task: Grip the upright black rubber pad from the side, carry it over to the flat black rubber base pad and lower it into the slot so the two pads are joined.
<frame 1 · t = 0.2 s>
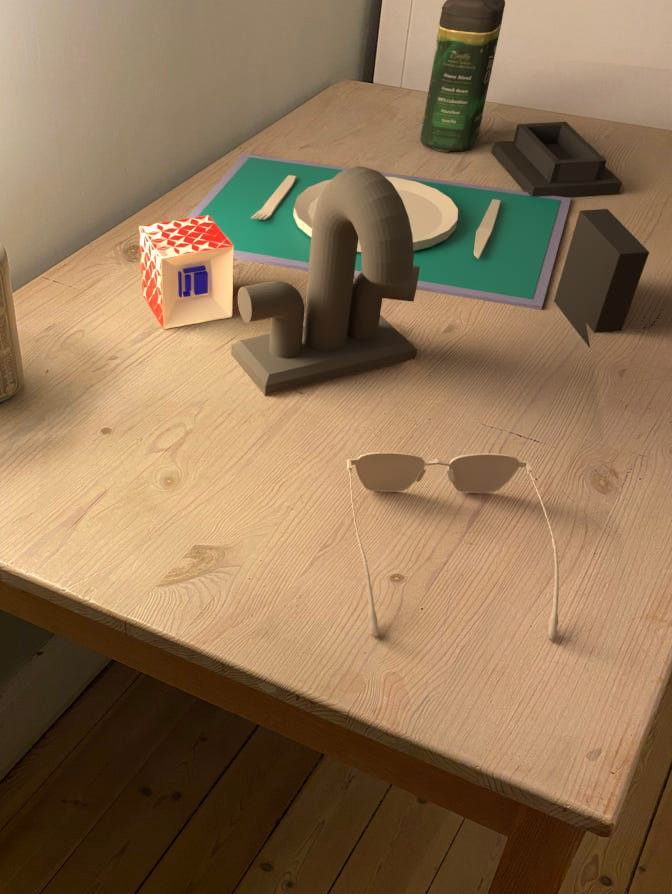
faucet: (338, 376, 95), on the table
eyeglasses: (444, 561, 77), on the table
place mat: (373, 227, 119), on the table, touching base pad
base pad: (552, 172, 129), on the table
upright pad: (584, 322, 102), on the table
patterned open box: (186, 308, 105), on the table
coffee jar: (449, 143, 137), on the table
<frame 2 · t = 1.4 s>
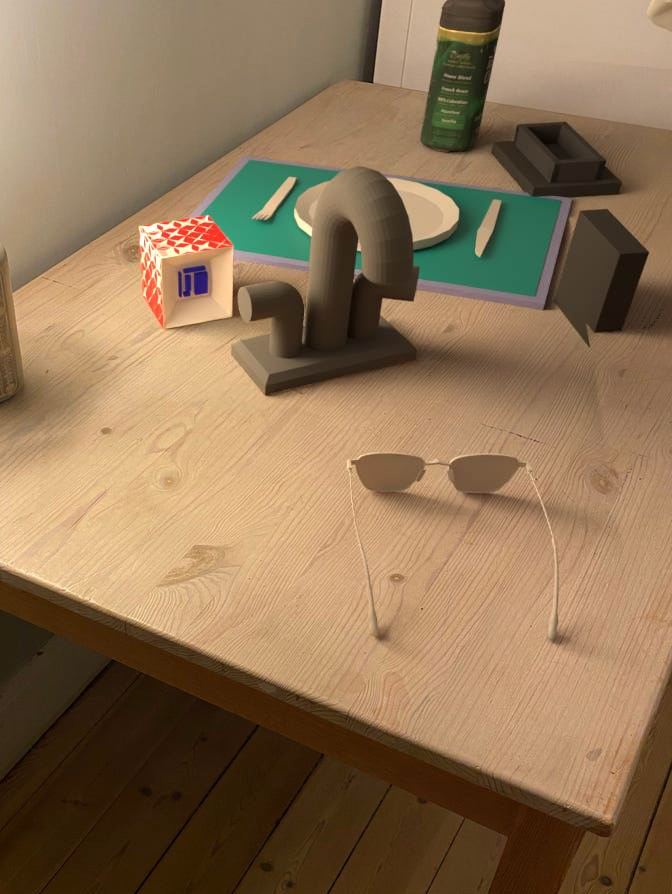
nothing on the table moved.
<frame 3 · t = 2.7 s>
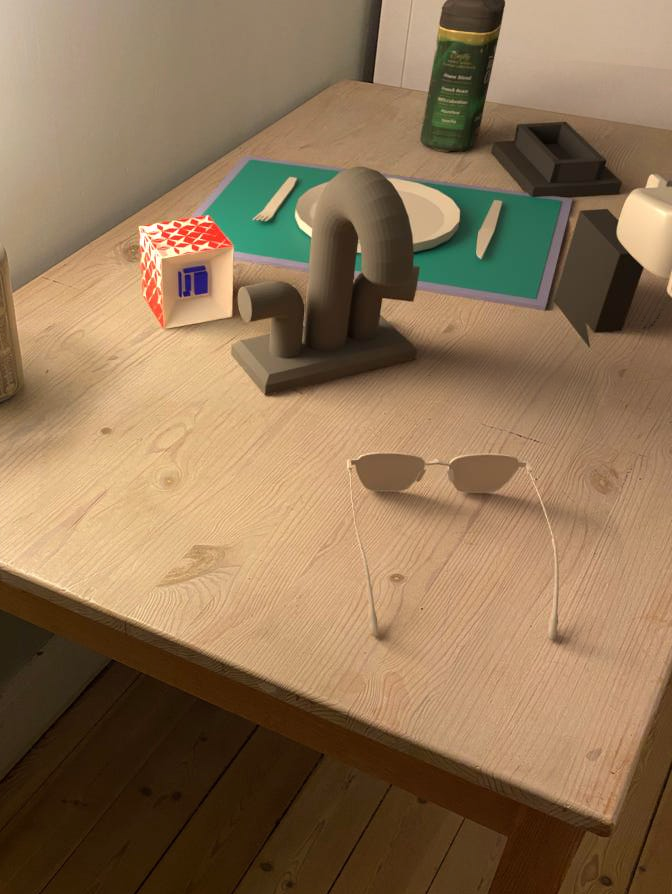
place mat: (374, 229, 119), on the table
everything else where it was.
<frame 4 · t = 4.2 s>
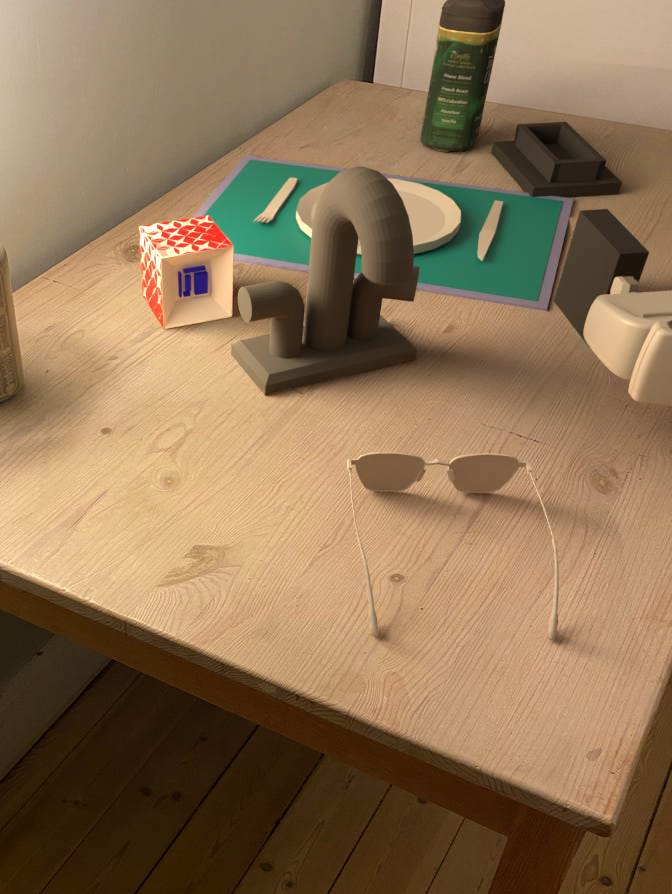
hand: (669, 280, 86), 11 cm above the table, tool horizontal, fingers open, 8 cm apart
place mat: (375, 230, 119), on the table, touching base pad
everything else where it was.
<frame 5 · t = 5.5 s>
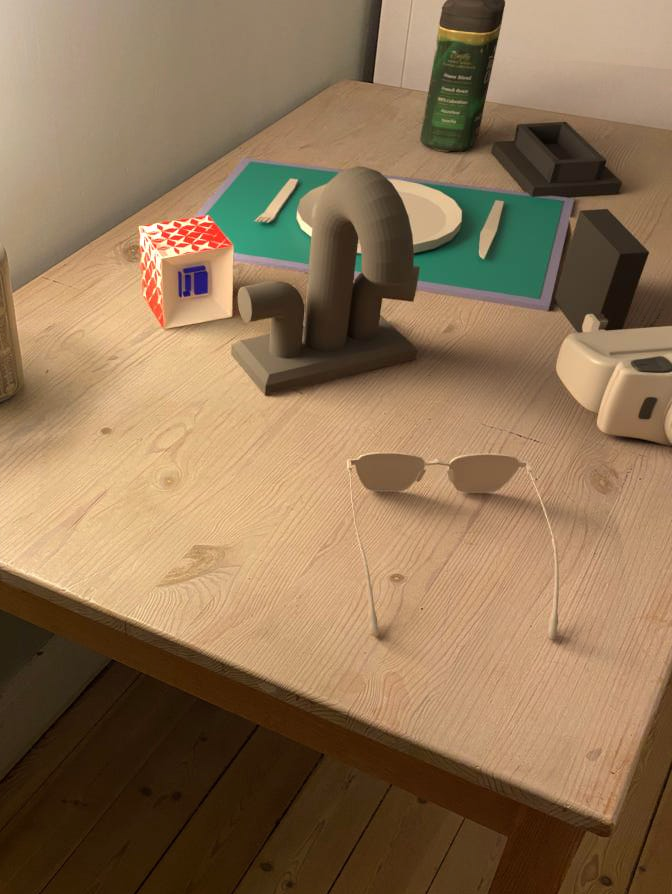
hand: (637, 317, 92), 5 cm above the table, tool horizontal, fingers open, 8 cm apart
nothing on the table moved.
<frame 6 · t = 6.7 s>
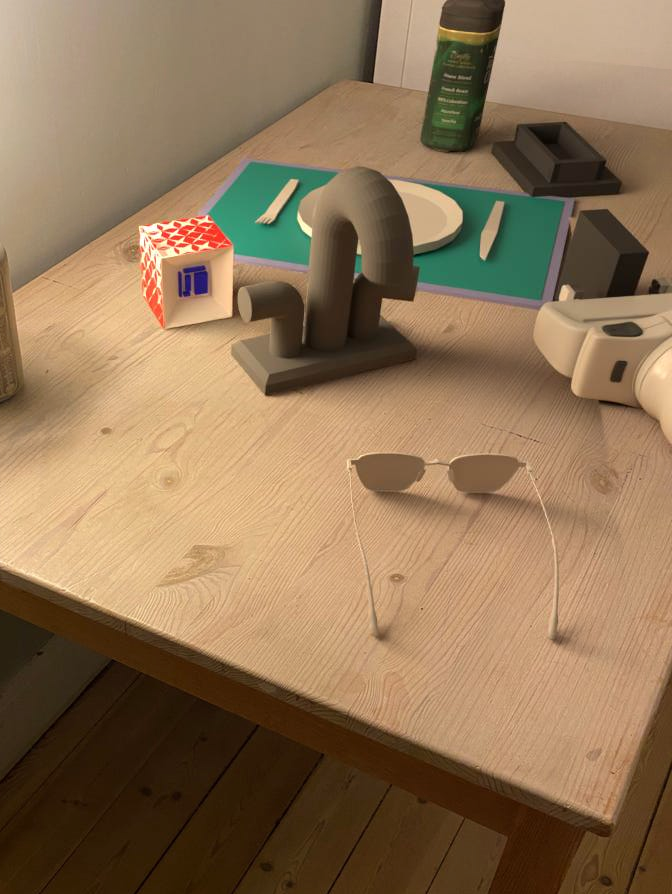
hand: (612, 288, 96), 5 cm above the table, tool horizontal, fingers open, 8 cm apart
place mat: (377, 230, 119), on the table
everything else where it was.
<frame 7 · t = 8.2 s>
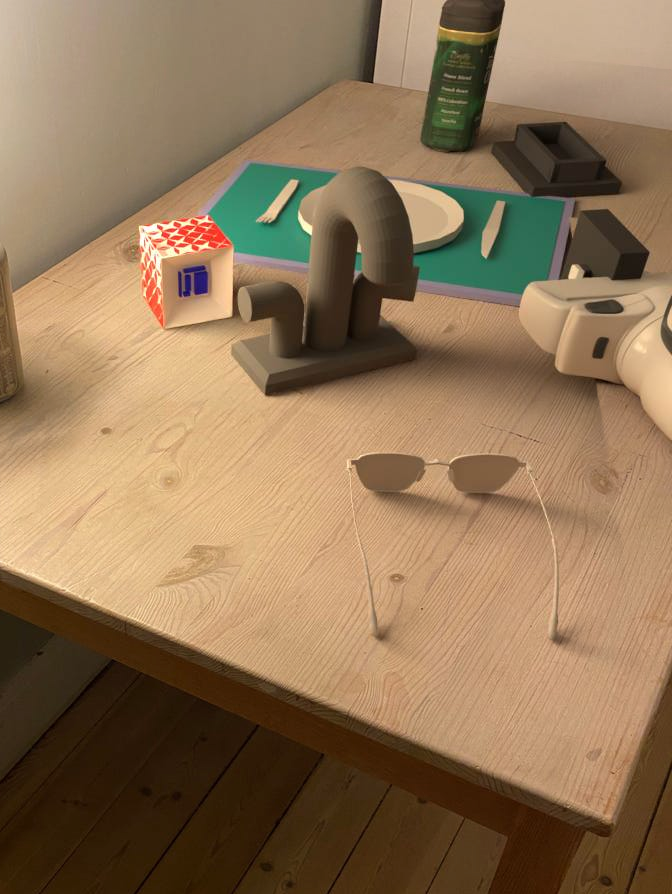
hand: (596, 269, 98), 6 cm above the table, tool horizontal, fingers closed on upright pad, 3 cm apart
place mat: (378, 230, 119), on the table, touching base pad
upright pad: (584, 322, 102), on the table, touching gripper
everything else where it was.
when the fingers open (7 cm above the table, at t = 18.8 s): upright pad stays where it is, resting on base pad.
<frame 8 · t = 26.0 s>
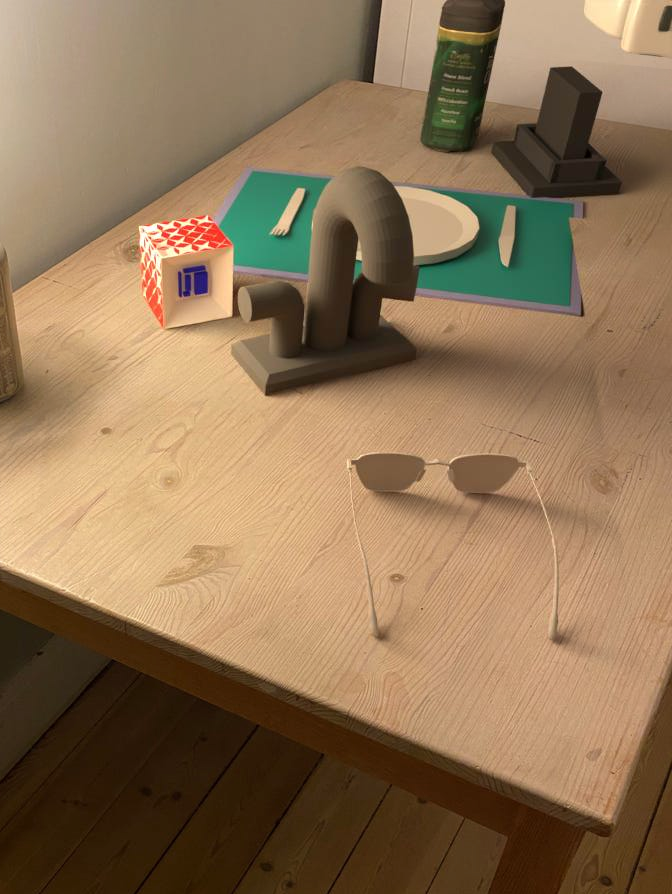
place mat: (391, 239, 117), on the table
upright pad: (554, 161, 128), point 1 cm above the table, touching base pad
everything else where it was.
at the end: upright pad 0.1 cm off-centre on the base pad, point 1.5 cm above the base pad's base; upright pad tilted 0°; the gripper is holding nothing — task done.
